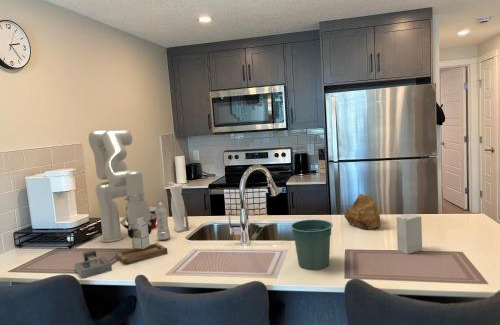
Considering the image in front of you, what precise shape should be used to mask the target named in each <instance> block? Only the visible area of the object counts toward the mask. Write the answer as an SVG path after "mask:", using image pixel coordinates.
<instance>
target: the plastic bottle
mask: <svg viewBox="0 0 500 325" xmlns="http://www.w3.org/2000/svg"><path fill="white" fill-rule="evenodd" d="M156 206H157V209H156V211H155V215H156V227H157V231H156V232H157V233H156V236H157V239H159V241H166V240H168V239H169V240H170V237H171V231H170V228H169V222H168V221H169V220H168V218H169V216H168V212H169V211H168V210H167V208H166V207H165V201H158V202H156Z"/></svg>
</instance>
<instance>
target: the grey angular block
mask: <svg viewBox="0 0 500 325" xmlns="http://www.w3.org/2000/svg"><path fill="white" fill-rule="evenodd" d="M82 256H83V257H82V258H83V262H84V261H89V263H90V267H94V266H97V265H99V262H98V260H99V258H97V256H98V255H97V251H96V250H95V249H92V250H89V251H88V250H87V251H84V252H82Z"/></svg>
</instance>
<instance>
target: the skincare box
mask: <svg viewBox="0 0 500 325" xmlns="http://www.w3.org/2000/svg"><path fill="white" fill-rule="evenodd" d="M422 226H423V225H422V216H420V215H418V214H413V213H409V214H408V213H407V214H404V215H400V216H399V215H398V216H396V240H397V243H396V244H397V245H396V246H397V250H398V251H399V252H402V253H404V254H406V255H411V254H413V253H417V252H421V251H423V234H422V233H423V229H422Z"/></svg>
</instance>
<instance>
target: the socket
mask: <svg viewBox="0 0 500 325" xmlns="http://www.w3.org/2000/svg"><path fill="white" fill-rule="evenodd" d="M98 260H99V262H98V263H99V264H98V265H97V266H93V267H91V266H90V263H89V261H84V260H83V261H80V262H77V263H74V268H75V273H77V274H78V276H79V277H80V278H81V279H85V278H89V277H92V276H97V275H99V274H103V273H107V272H110V271H112V270H113V268H112V262H110V261H109V260H108V259H107V258H106V257H105V256H100V257H98Z"/></svg>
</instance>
